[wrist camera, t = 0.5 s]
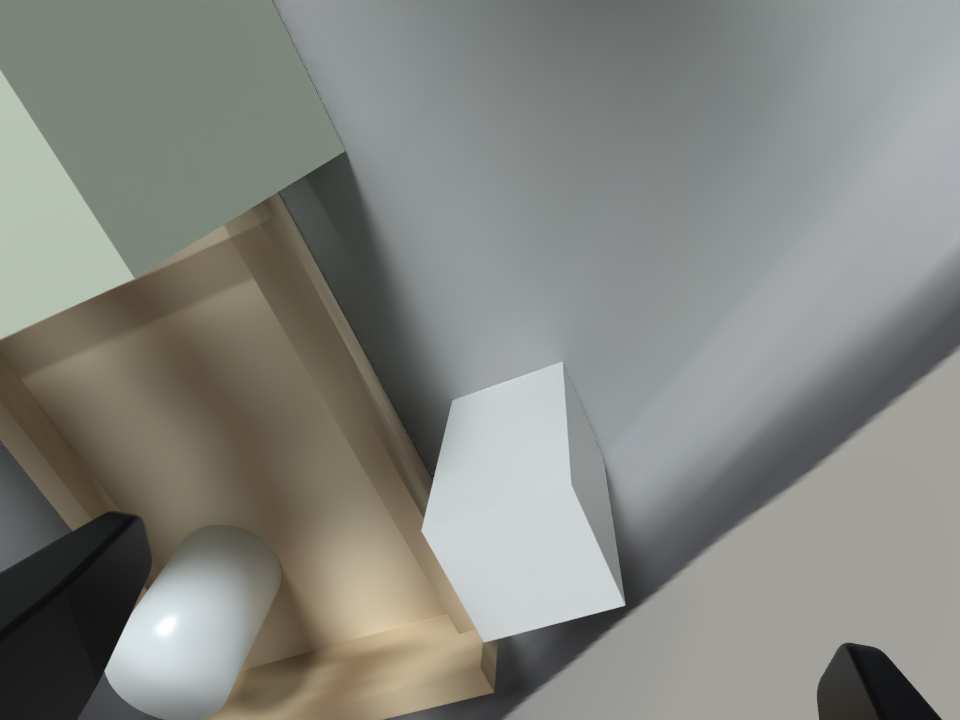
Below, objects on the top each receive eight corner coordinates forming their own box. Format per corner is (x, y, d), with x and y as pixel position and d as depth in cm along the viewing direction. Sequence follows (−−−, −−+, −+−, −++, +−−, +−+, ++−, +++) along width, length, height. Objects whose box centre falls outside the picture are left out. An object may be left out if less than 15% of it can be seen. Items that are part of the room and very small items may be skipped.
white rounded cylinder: (214, 618, 28) (150, 732, 23) (157, 542, 26) (78, 647, 22) (301, 592, 27) (252, 705, 22) (247, 512, 26) (183, 615, 21)
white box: (497, 491, 26) (484, 642, 19) (452, 400, 24) (421, 531, 18) (603, 458, 25) (625, 605, 18) (562, 361, 23) (571, 484, 17)
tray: (244, 676, 31) (204, 763, 27) (-29, 314, 24) (-129, 363, 21) (500, 606, 28) (494, 692, 24) (269, 176, 21) (214, 205, 18)
